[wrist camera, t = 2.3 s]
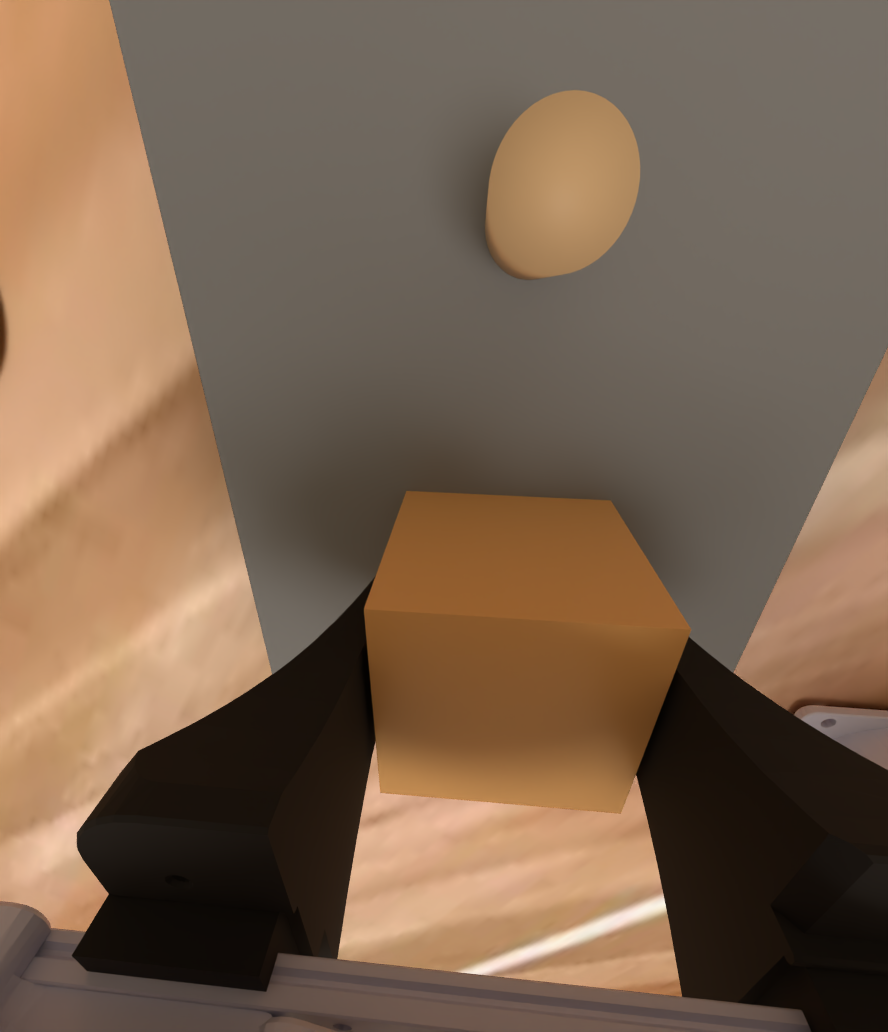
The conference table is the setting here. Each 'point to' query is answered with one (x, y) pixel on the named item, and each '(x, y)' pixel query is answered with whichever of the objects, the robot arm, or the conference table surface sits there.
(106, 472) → the conference table surface
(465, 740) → the wooden toy cube
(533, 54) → the board
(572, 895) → the conference table surface
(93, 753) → the conference table surface
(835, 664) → the conference table surface
